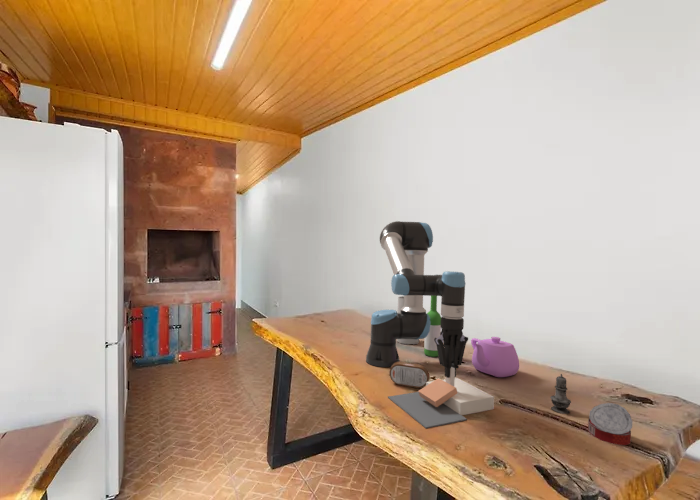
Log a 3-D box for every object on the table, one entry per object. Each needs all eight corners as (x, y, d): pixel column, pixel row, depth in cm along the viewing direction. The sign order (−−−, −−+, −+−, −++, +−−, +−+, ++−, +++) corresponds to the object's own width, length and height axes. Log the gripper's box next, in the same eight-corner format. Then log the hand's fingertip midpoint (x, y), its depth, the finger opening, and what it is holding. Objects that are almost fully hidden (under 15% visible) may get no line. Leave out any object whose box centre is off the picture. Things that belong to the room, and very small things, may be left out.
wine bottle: (439, 353, 175) (441, 294, 175) (440, 358, 167) (442, 296, 167) (423, 352, 176) (425, 293, 176) (424, 356, 169) (426, 295, 169)
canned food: (630, 457, 97) (650, 435, 92) (597, 454, 96) (616, 431, 91) (604, 421, 107) (621, 399, 102) (573, 417, 106) (589, 395, 101)
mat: (387, 397, 120) (387, 396, 120) (424, 392, 126) (424, 390, 126) (425, 428, 99) (425, 427, 99) (466, 420, 105) (466, 418, 105)
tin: (429, 387, 130) (430, 365, 130) (428, 390, 127) (429, 367, 127) (390, 381, 135) (390, 359, 135) (388, 384, 132) (389, 362, 132)
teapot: (481, 361, 165) (483, 329, 165) (524, 375, 147) (526, 339, 147) (449, 368, 152) (450, 334, 152) (492, 385, 135) (493, 346, 135)
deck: (425, 393, 125) (426, 382, 125) (456, 388, 130) (456, 377, 130) (460, 415, 108) (460, 402, 108) (493, 409, 114) (494, 396, 114)
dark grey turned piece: (570, 416, 110) (572, 378, 111) (549, 411, 114) (550, 374, 114) (570, 409, 115) (571, 373, 116) (550, 404, 119) (551, 369, 119)
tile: (419, 396, 118) (418, 391, 118) (439, 383, 121) (438, 378, 121) (436, 407, 110) (434, 401, 109) (457, 393, 113) (455, 387, 113)
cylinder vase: (405, 338, 204) (407, 295, 204) (423, 342, 195) (425, 298, 195) (392, 341, 196) (393, 297, 196) (409, 346, 187) (411, 299, 187)
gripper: (444, 320, 112) (441, 393, 112) (475, 318, 117) (472, 388, 117) (429, 315, 119) (427, 384, 118) (459, 314, 124) (457, 380, 124)
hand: (449, 386), depth 118 cm, fingers closed
